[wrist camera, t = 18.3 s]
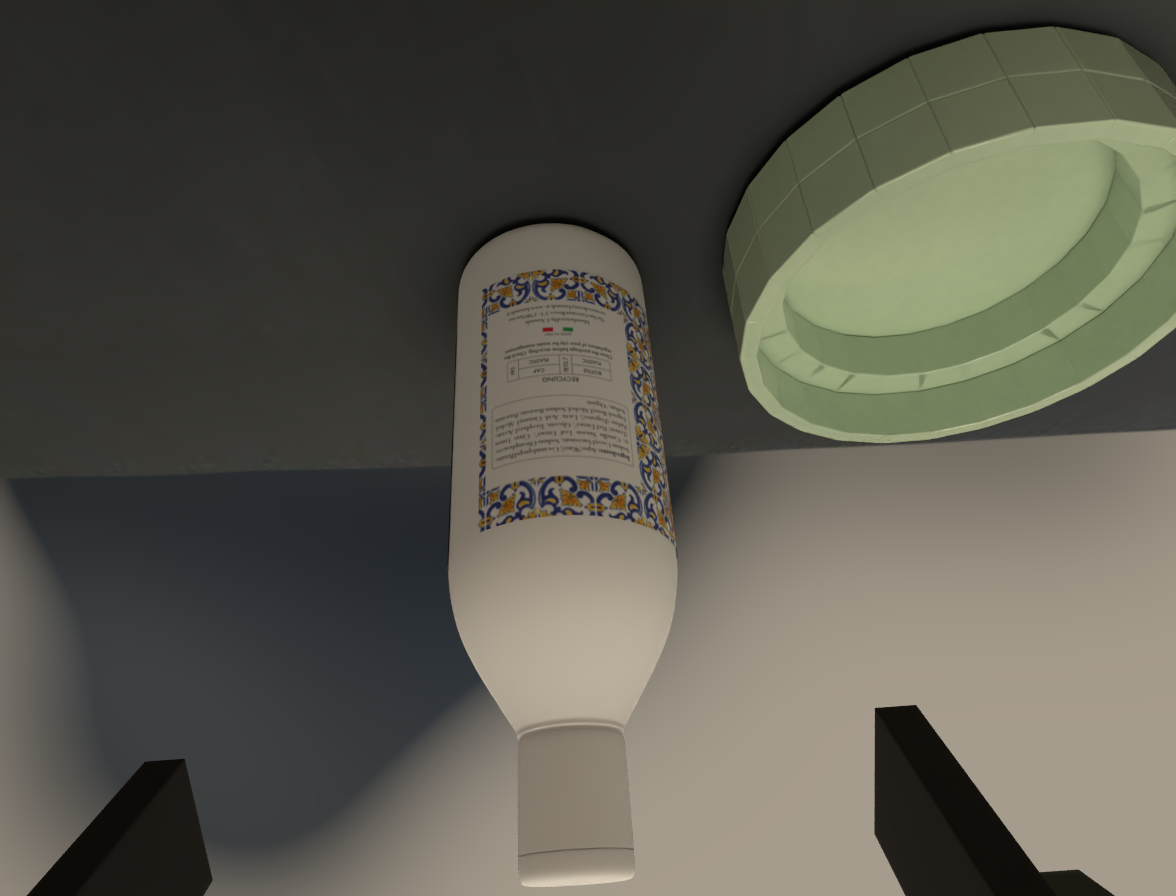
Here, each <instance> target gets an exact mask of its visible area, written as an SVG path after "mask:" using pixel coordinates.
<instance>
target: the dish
mask: <svg viewBox="0 0 1176 896" xmlns="http://www.w3.org/2000/svg"><path fill="white" fill-rule="evenodd" d="M722 273H723V279H724V284H725V289H726V294H727V299H728V304H729V309H730V314H731V319H732V324H733V329H734V334H735V339H736V344H737V349H738V354H739V359H740V363H741V366H742V369H743V373H744V376H745V380H746V383H747V387H748V389H749V391H750V392H751V393H752V395H753V396H754V397H755V398H756V399H757V400H758V401H759V402H760V404H761V405H762V406H763V407H764V408H765V409H766V410H767V412H768V413H769V414H771V415H772V416H774V417H776V418H778V419H780V420H781V421H783V422H785V423H787V424H789V425H791V426H793V427H794V428H796V429H798V430H801V431H803V432H807V433H811V434H815V435H819V436H823V437H827V438H831V439H835V440H840V441H856V442H873V443H892V442H904V441H916V440H928V439H931V438H932V439H934V438H939V437H944V436H948V435H953V434H958V433H963V432H968V431H972V430H977V429H981V428H985V427H988V426H991V425H995V424H998V423H1001V422H1004V421H1007V420H1010V419H1013V418H1016V417H1019V416H1022V415H1025V414H1028V413H1031V412H1034V411H1036V410H1039V409H1041V408H1044V407H1046V406H1048V405H1050V404H1052V403H1055V402H1057V401H1059V400H1061V399H1064V398H1066V397H1068V396H1070V395H1072V394H1075V393H1077V392H1079V391H1081V390H1084V389H1086V388H1087V387H1090V386H1091V385H1093V384H1095V383H1096V382H1098V381H1100V380H1101V379H1103V378H1105V377H1106V376H1108V375H1110V374H1112V373H1113V372H1115V371H1117V370H1118V369H1120V368H1122V367H1123V366H1125V365H1127V364H1128V363H1130V362H1132V361H1133V360H1135V359H1137V358H1138V357H1139V356H1141V355H1142V354H1143V353H1145V352H1146V351H1147V350H1148V349H1150V348H1151V347H1152V346H1153V345H1155V344H1156V343H1157V342H1158V341H1160V340H1161V339H1162V338H1163V337H1165V336H1166V335H1167V334H1168V333H1170V332H1171V331H1172V330H1173V329H1175V328H1176V86H1175V85H1174V84H1173V82H1172V81H1171V79H1170V78H1169V77H1168V75H1167V74H1166V73H1165V71H1164V70H1163V69H1162V67H1161V66H1160V65H1159V64H1158V63H1157V62H1155V61H1154V60H1152V59H1150V58H1149V57H1147V56H1146V55H1144V54H1143V53H1141V52H1139V51H1138V50H1136V49H1135V48H1133V47H1132V46H1130V45H1128V44H1127V43H1125V42H1124V41H1122V40H1121V39H1119V38H1115V37H1112V36H1106V35H1101V34H1095V33H1090V32H1084V31H1079V30H1073V29H1068V28H1062V27H1053V26H1049V27H1039V28H1029V29H1019V30H1008V31H998V32H988V33H984V34H977V35H974V36H971V37H968V38H965V39H962V40H959V41H956V42H952V43H949V44H946V45H943V46H940V47H937V48H934V49H931V50H928V51H925V52H922V53H919V54H916V55H912V56H910V57H909V58H908V59H907V58H906V59H904V60H902V61H900V62H898V63H896V64H895V65H893V66H891V67H889V68H887V69H885V70H884V71H882V72H880V73H878V74H876V75H875V76H873V77H871V78H869V79H867V80H865V81H864V82H862V83H860V84H858V85H856V86H855V87H853V88H851V89H849V90H847V91H845V92H844V93H842V94H841V96H838V97H836V98H835V99H834V100H833V101H832V102H830V103H829V104H828V105H827V106H826V107H824V108H823V109H822V110H821V111H820V112H818V113H817V114H816V115H815V116H813V117H812V118H811V119H810V120H809V121H807V122H806V123H805V124H804V125H803V126H801V127H800V128H799V129H798V130H797V131H795V132H794V133H793V134H792V135H790V136H789V137H788V138H787V139H786V141H784V142H783V143H782V144H781V146H780V147H779V148H778V149H777V151H776V152H775V153H774V154H773V156H772V157H771V158H770V159H769V161H768V162H767V163H766V164H765V166H764V167H763V168H762V169H761V171H760V172H759V173H758V174H757V176H756V177H755V178H754V179H753V181H752V182H751V183H750V184H749V186H748V188H747V189H746V191H745V194H744V196H743V198H742V200H741V203H740V205H739V207H738V209H737V211H736V214H735V216H734V218H733V220H732V222H731V225H730V227H729V229H728V232H727V234H726V243H725V252H724V262H723V271H722Z"/></svg>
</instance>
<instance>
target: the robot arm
mask: <svg viewBox="0 0 1176 896" xmlns="http://www.w3.org/2000/svg"><path fill="white" fill-rule="evenodd" d="M875 836H876V838H877V839H878V841H879V844H880V845H881V848H882V849H883V851H884V853H885V856H886V858H887V860H888V861H889V863H890V866H891V868H892V870H893V871H894V874H895V876H896V878H897V879H898V881H899V883H900V886H901V888H902V889H903V892H904V894H905V895H906V896H1114V895H1113V894H1112V893H1110V892H1109V891H1107V890H1106V889H1104V888H1103V887H1102V886H1100V885H1099V884H1098V883H1096V882H1095V881H1093V880H1092V879H1091V878H1089V877H1088V876H1087V875H1085V874H1084V873H1082V872H1081V871H1080V870H1067V871H1052V872H1039V871H1038V870H1037V869H1036V867H1035V866H1034V864H1033V863H1032V862H1031V861H1030V859H1029V858H1028V856H1027V855H1026V854H1025V852H1024V851H1023V850H1022V848H1021V847H1020V845H1019V844H1018V843H1017V841H1016V840H1015V839H1014V837H1013V836H1012V835H1011V833H1010V832H1009V831H1008V829H1007V828H1006V826H1005V825H1004V824H1003V822H1002V821H1001V820H1000V818H999V817H998V816H997V814H996V813H995V812H994V810H993V809H992V807H991V806H990V805H989V803H988V802H987V801H986V800H985V798H984V797H983V795H982V794H981V793H980V791H979V790H978V789H977V787H976V786H975V784H974V783H973V782H972V780H971V779H970V778H969V776H968V775H967V774H966V772H965V771H964V769H963V768H962V767H961V765H960V764H959V763H958V761H957V760H956V759H955V757H954V756H953V755H952V753H951V752H950V751H949V749H948V748H947V747H946V745H945V744H944V742H943V741H942V740H941V738H940V737H939V736H938V734H937V733H936V732H935V730H934V729H933V728H932V726H931V725H930V723H929V722H928V721H927V719H926V718H925V717H924V715H923V714H922V713H921V711H920V710H919V708H918V707H917V706H916V705H911V706H898V707H897V706H896V707H884V708H875ZM211 882H212V875H211V871H210V867H209V863H208V858H207V854H206V850H205V845H204V841H203V837H202V832H201V828H200V824H199V819H198V815H197V811H196V806H195V802H194V798H193V793H192V789H191V785H190V780H189V776H188V772H187V767H186V763H185V759H176V760H162V761H149V762H144V764H143V765H142V766H141V767H140V768H139V769H138V770H137V772H136V773H135V774H134V775H133V776H132V777H131V778H130V779H129V781H128V782H127V783H126V784H125V785H124V786H123V787H122V788H121V790H120V791H119V792H118V793H117V794H116V795H115V796H114V798H113V799H112V800H111V801H110V802H109V803H108V804H107V805H106V807H105V808H104V809H103V810H102V811H101V812H100V813H99V814H98V816H97V817H96V818H95V819H94V820H93V821H92V822H91V823H90V825H89V826H88V827H87V828H86V829H85V830H84V832H83V833H82V834H81V835H80V836H79V837H78V838H77V839H76V841H75V842H74V843H73V844H72V845H71V846H70V847H69V848H68V850H67V851H66V852H65V853H64V854H63V855H62V856H61V858H60V859H59V860H58V861H57V862H56V863H55V864H54V865H53V867H52V868H51V869H50V870H49V871H48V872H47V873H46V875H45V876H44V877H43V878H42V879H41V880H40V881H39V882H38V884H37V885H36V886H35V887H34V888H33V889H32V890H31V891H30V893H29V894H28V895H27V896H203V895H204V894H205V892H206V890H207V889H208V887H209V885H210V884H211Z"/></svg>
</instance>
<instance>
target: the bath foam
mask: <svg viewBox="0 0 1176 896" xmlns="http://www.w3.org/2000/svg"><path fill="white" fill-rule="evenodd" d="M456 332H457V333H456V357H455V383H454V409H453V435H452V461H451V487H450V513H449V539H448V572H449V587H450V596H451V602H452V608H453V613H454V617H455V621H456V624H457V628H458V631H459V634H460V636H461V639H462V642H463V644H464V646H465V649H466V651H467V653H468V655H469V657H470V658H471V661H472V663H473V664H474V667H475V668H476V670H477V672H478V673H479V675H480V677H481V679H482V680H483V682H484V683H485V685H486V687H487V688H488V690H489V691H490V693H491V695H492V696H493V697H494V699H495V701H496V702H497V704H498V705H499V707H500V708H501V710H502V712H503V713H504V715H505V716H506V718H507V719H508V721H509V722H510V724H511V725H512V727H513V728H514V730H515V731H516V733H517V738H518V740H519V743H518V857H519V859H518V870H519V879H520V882H521V884H522V885H524V886H529V887H552V886H572V885H587V884H598V883H609V882H618V881H624V880H629V879H631V878H632V877H633V876H634V872H635V858H634V845H633V832H632V820H631V808H630V795H629V782H628V770H627V759H626V749H625V742H624V737H623V734H624V727H625V725H626V723H627V721H628V719H629V717H630V715H631V713H632V711H633V710H634V708H635V706H636V704H637V702H638V700H639V698H640V696H641V694H642V692H643V690H644V688H645V686H646V684H647V682H648V680H649V678H650V676H651V674H652V672H653V670H654V668H655V666H656V664H657V662H658V660H659V657H660V655H661V652H662V650H663V647H664V645H665V643H666V640H667V636H668V634H669V631H670V627H671V623H672V619H673V615H674V609H675V601H676V591H677V548H676V540H675V533H674V525H673V517H672V509H671V502H670V493H669V486H668V479H667V470H666V463H665V454H664V446H663V439H662V431H661V423H660V415H659V407H658V400H657V392H656V384H655V376H654V368H653V360H652V353H651V345H650V337H649V329H648V322H647V317H646V309H645V302H644V294H643V287H642V282H641V277H640V274H639V271H638V269H637V267H636V265H635V263H634V262H633V260H632V259H631V257H630V256H629V255H628V253H627V252H626V251H625V250H624V249H623V248H622V247H620V246H619V245H618V244H617V243H615V242H614V241H612V240H610V239H609V238H607V237H605V236H603V235H601V234H598V233H596V232H594V231H591V230H589V229H586V228H583V227H580V226H575V225H570V224H560V223H545V224H535V225H529V226H524V227H520V228H517V229H514V230H511V231H508V232H506V233H504V234H501V235H499V236H498V237H496V238H494V239H492V240H491V241H489V242H488V243H486V244H485V245H484V246H483V247H482V248H480V249H479V250H478V251H477V252H476V253H475V254H474V256H473V257H472V258H471V259H470V261H469V262H468V264H467V266H466V267H465V269H464V272H463V274H462V277H461V281H460V286H459V297H458V321H457V331H456Z"/></svg>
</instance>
